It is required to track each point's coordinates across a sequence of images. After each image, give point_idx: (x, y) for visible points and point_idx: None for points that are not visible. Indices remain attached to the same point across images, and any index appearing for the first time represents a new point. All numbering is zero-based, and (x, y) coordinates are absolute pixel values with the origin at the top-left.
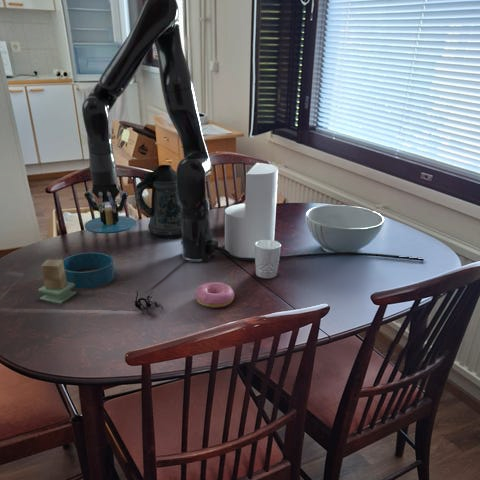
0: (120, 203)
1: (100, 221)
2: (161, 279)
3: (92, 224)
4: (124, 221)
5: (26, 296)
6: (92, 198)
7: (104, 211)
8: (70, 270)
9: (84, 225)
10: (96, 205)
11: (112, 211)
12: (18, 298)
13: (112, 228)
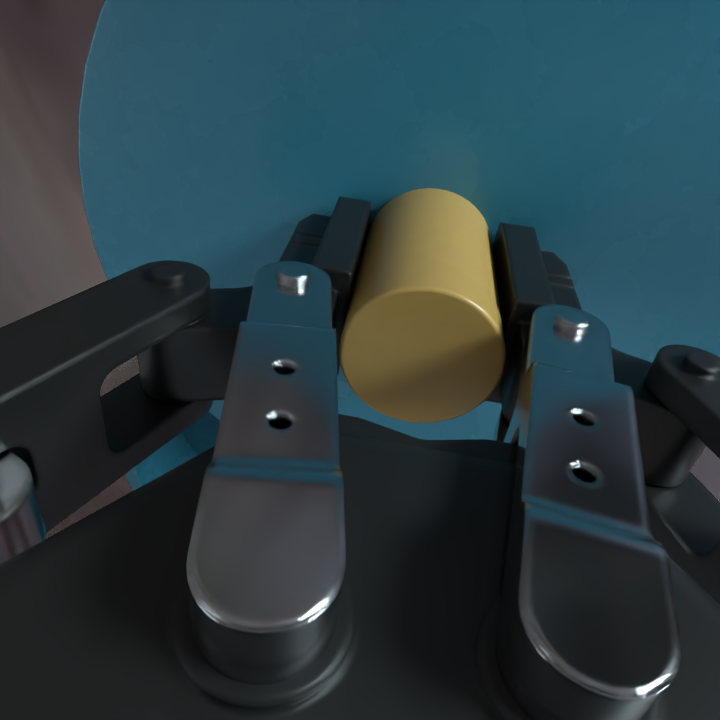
0: (689, 572)
1: (269, 133)
2: (713, 469)
3: (193, 254)
4: (642, 181)
5: (81, 517)
6: (34, 456)
7: (347, 366)
8: None
9: (107, 277)
10: (168, 337)
11: (487, 389)
12: (59, 526)
13: (460, 416)
